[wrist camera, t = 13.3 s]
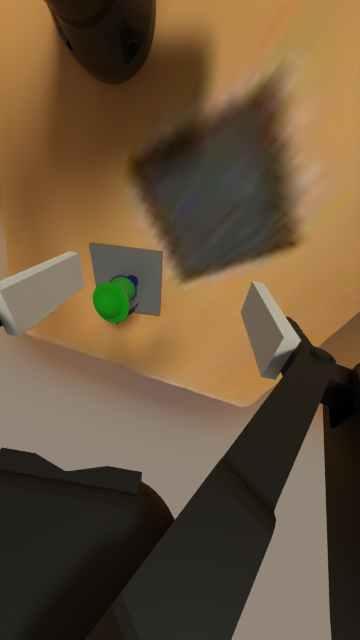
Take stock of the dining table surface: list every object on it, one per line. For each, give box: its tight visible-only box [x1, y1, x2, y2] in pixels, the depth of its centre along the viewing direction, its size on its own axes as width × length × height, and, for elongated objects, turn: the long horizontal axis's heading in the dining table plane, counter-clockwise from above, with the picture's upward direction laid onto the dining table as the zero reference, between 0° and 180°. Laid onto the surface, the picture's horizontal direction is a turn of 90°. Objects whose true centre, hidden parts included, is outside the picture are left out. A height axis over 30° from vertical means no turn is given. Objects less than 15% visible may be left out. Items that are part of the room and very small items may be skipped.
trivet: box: [89, 243, 163, 315], centre depth 51 cm, size 18×18×1 cm
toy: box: [93, 275, 139, 325], centre depth 44 cm, size 9×9×15 cm
